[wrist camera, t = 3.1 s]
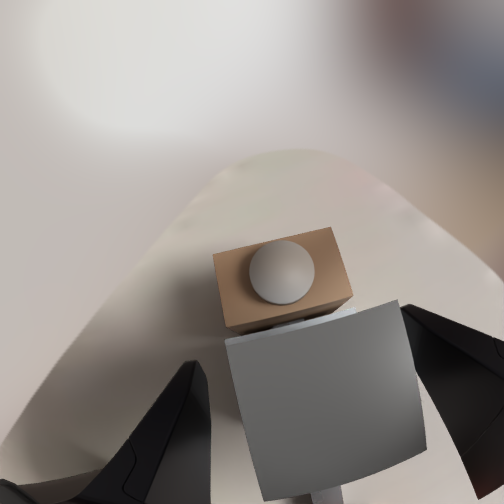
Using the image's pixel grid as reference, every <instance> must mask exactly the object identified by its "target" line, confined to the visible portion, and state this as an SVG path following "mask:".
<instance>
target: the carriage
mask: <svg viewBox="0 0 504 504" xmlns="http://www.w3.org/2000/svg"><path fill="white" fill-rule="evenodd" d="M224 340H225V345H226V351H227V355H228V360H229V365H230V369H231V374H232V379H233V383H234V388H235V392H236V396H237V401H238V405H239V409H240V413H241V418H242V422H243V426H244V430H245V434H246V438H247V442H248V446H249V449H250V453H251V457H252V461H253V465H254V468H255V472H256V476H257V479H258V483H259V486H260V490H261V493H262V497H263V500H264V502H265V501H272V500H278V499H284V498H290V497H295V496H300V495H305V494H309V493H313V492H317V491H321V490H325V489H329V488H333V487H336V486H339V485H343V484H346V483H349V482H352V481H355V480H358V479H361V478H364V477H367V476H369V475H372V474H375V473H377V472H380V471H382V470H385V469H387V468H390V467H392V466H394V465H396V464H399V463H401V462H403V461H405V460H407V459H410V458H412V457H414V456H416V455H418V454H420V453H422V452H423V451H425V450H427V447H426V436H425V427H424V419H423V411H422V405H421V398H420V392H419V387H418V381H417V376H416V371H415V366H414V361H413V357H412V352H411V348H410V344H409V340H408V336H407V332H406V328H405V324H404V321H403V317H402V314H401V310H400V307H399V303H398V300H394V301H391V302H389V303H386V304H383V305H380V306H377V307H374V308H371V309H367V310H364V311H361V312H358V313H357V312H356V309H355V307H353V308H350V309H347V310H343V311H340V312H336V313H333V314H329V315H326V316H322V317H318V318H315V319H311V320H307V321H303V322H300V323H296V324H292V325H288V326H284V327H279V328H275V329H271V330H267V331H262V332H258V333H253V334H249V335H244V336H239V337H234V338H229V339H224Z"/></svg>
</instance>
